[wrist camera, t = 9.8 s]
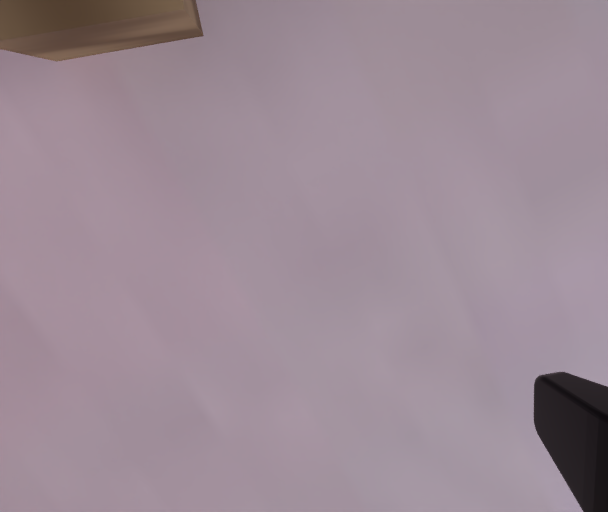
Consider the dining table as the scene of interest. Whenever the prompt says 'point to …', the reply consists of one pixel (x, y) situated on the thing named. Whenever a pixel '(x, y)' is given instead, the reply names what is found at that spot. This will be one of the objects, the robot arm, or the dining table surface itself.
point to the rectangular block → (93, 25)
